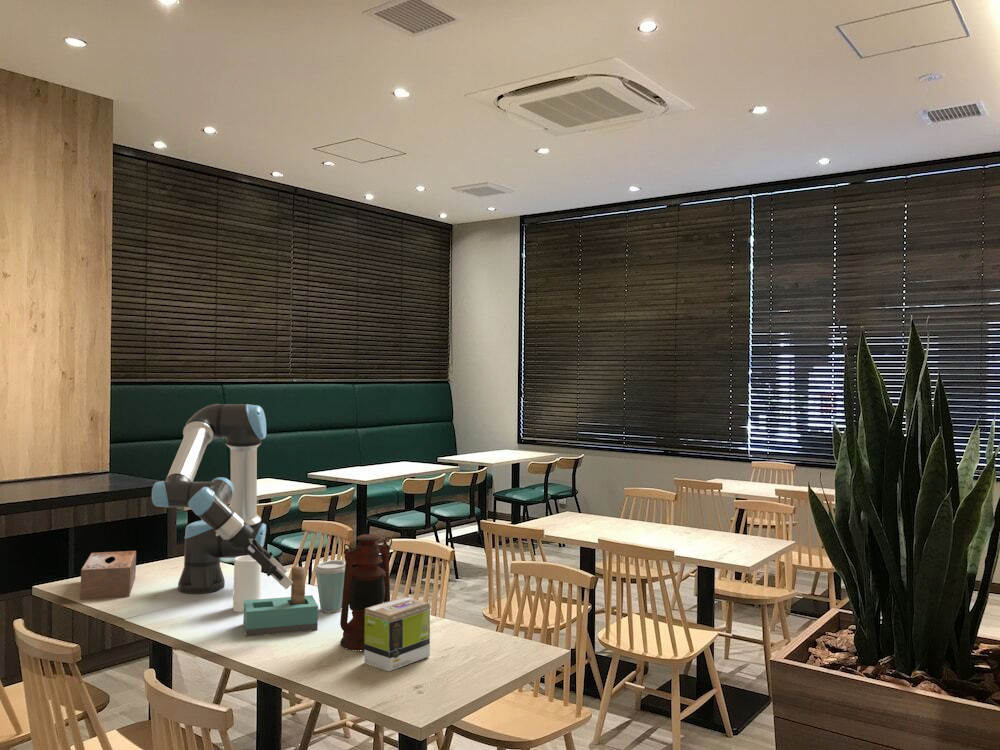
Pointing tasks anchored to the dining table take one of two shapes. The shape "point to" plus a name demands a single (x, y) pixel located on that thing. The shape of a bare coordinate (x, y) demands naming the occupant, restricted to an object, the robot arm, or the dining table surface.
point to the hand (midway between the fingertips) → (286, 579)
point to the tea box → (397, 633)
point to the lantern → (363, 586)
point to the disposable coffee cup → (330, 584)
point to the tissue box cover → (108, 575)
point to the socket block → (279, 616)
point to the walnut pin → (298, 586)
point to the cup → (246, 581)
